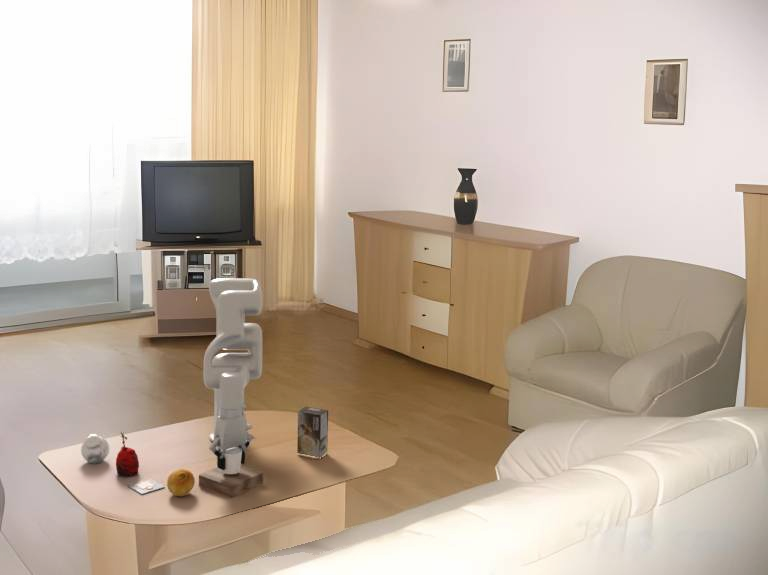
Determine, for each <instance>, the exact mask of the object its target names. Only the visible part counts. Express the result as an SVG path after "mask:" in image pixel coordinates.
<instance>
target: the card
mask: <svg viewBox="0 0 768 575" xmlns="http://www.w3.org/2000/svg"><path fill="white" fill-rule="evenodd" d="M127 487H128V488H129V487H130V489H131V490H133V491H134V492H136V493H137V494H139V495H141V496H143V495H146V494H149V493H153V492H156V491H160V490H163V489H165V485H162V484H161V483H159V482H157V481H156V480H154V479H151V478H149V479H146V480H143V481H142V480H141V481H139V482H135V483H132V484H129V485H128V484H127Z"/></svg>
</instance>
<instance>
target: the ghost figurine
mask: <svg viewBox="0 0 768 575" xmlns="http://www.w3.org/2000/svg"><path fill="white" fill-rule="evenodd" d="M80 451H81V455H82V458H83V459H84V460H85V461H86V462H88V463H91V464H98V463H101V462H103V461H104V460H105V459H106V458H107V457H108V455H109V453H110V444H109V442H108V441H107V439H105V438H104V437H102V436H100V435H98V434H96V433H92V434H91V433H90V434H88V435H87V436H86V437H85V438H84V442H83V443H82V445H81V448H80Z"/></svg>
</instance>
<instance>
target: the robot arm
mask: <svg viewBox="0 0 768 575" xmlns="http://www.w3.org/2000/svg"><path fill="white" fill-rule="evenodd" d="M208 291H209V296H210V299H211V301H212V303H213V305H214V308H215V312H216V318H215V319H216V325H215V326H216V329H215V330H216V331H215V332H216V335H215V337H214V339H213V340H212V341H211V342H210V343H209V345H208V346H207V348H206V350H205V353H204V357H203V374H202V375H203V376H202V377H203V384H204V385H205V388H206V389H209V390H214V391H213V392H214V394H213V395H214V400H213V401H214V405H213V406H214V407H213V408H214V412H213V415H214V416H213V418H214V423H213V424H214V425H213V426H214V428H213V432H212V433H210V434H209V440H210V441H211V442H212V443H211V444H210V445H209V446H208V448H209V450H210V452H212V453H213V455H215V456H216V458H217V460H216V464H217V467H218V468H219V469H221V470H225V458H224V455H225V452H226V450H227V449H230V448H233V447H240V448H242V457H241V465H244V464H246V463H245V460H246V452H247V450H248V449H247V448H248V447H249V446H250V443H251V441H252V440H253V438H254V436H253V435H251V434H250V433H249V432H248V431H249V430H251V429H253V425H252V423H248V422H247V421H248V420H247V416H246V414H245V409H247V405H246V404H245V388H246V387H247V385H248V384H249V383H250V380H257V379H259V378H261V376H262V373H263V331H262V327H261V326H260V325H259V324H258V323H255V322H254V323H253V322H244V320H245V317H246V316H254V317H255V316H259V315H260V314H261V313H262V309H263V294H262V286H261V282H260V281H259V280H258V279H256V278H246V277H244V278H241V277H240V278H239V277H238V278H237V277H236V278H235V277H234V278H233V277H222V278H219V277H218V278H215V279H214V278H213V279H212V280H210V282H209V284H208ZM220 350H224V351H248V352H222V353H218V352H219V351H220ZM217 353H218V354H217ZM215 354H217V355H215ZM221 450H222V451H221ZM220 452H221V453H220Z"/></svg>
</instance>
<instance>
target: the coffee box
mask: <svg viewBox="0 0 768 575" xmlns="http://www.w3.org/2000/svg"><path fill="white" fill-rule="evenodd" d="M328 430H329V410H327V409H323V408H317V407H311V406H304V407H302V408H301V409H300V410H298V411H297V450H296V451H297V453H299V454H305V455H310V456H315V457H319V458H320V457H322V456H323V455H324V454H325V453H326V452H327V453H328V443H329V442H328V438H329V437H328V435H329V431H328ZM297 453H296V454H297Z"/></svg>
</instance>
